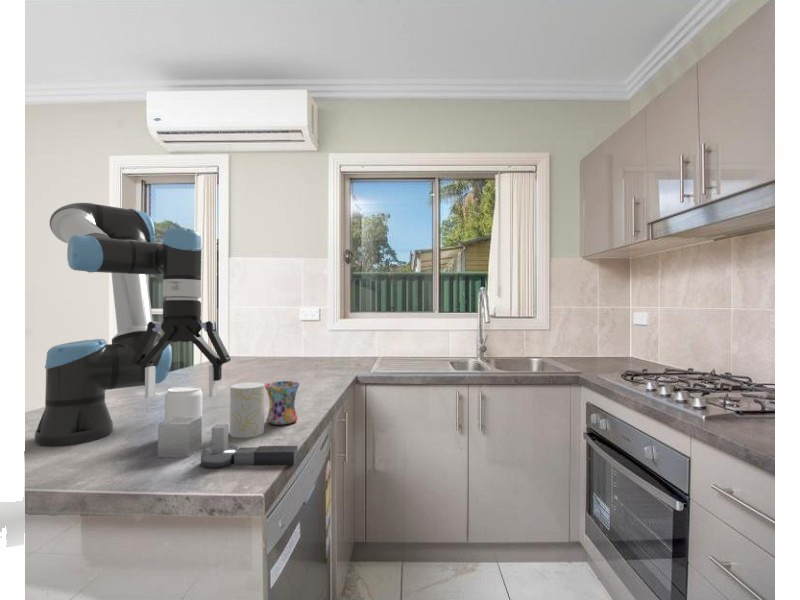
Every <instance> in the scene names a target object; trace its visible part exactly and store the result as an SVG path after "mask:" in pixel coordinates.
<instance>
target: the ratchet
mask: <svg viewBox="0 0 800 600" xmlns="http://www.w3.org/2000/svg"><path fill="white" fill-rule="evenodd" d="M298 453H299V446H298V445H259V446H258V447H252V446H251V447H250V446H249V447H247V446H246V447H239V448H238V446H236V445H233V444H229V424H227V423H226V424H225V423H224V424H221V423H220V424H215V425H213V426H212V427H211V446H210V447H208V448H207V447H206V448H205V449H203V450H202V451H200V467H201V468H203V469H206V470H221V469H225V468H229V467H232V466H235V467H236V466H239V467H241V466H244V467H245V466H246V467H247V466H254V467H257V466H260V467H261V466H262V467H263V466H266V467H267V466H269V467H270V466H273V467H274V466H295V464H296V463H297V461H298V459H299V458H298V457H299V455H298Z"/></svg>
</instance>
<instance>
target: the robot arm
mask: <svg viewBox="0 0 800 600" xmlns="http://www.w3.org/2000/svg"><path fill="white" fill-rule="evenodd" d="M49 228H50V231H51V232H52V234H53V235H54V236H55V238H57V239H58V240H60V241H61V242H62V243H64V244H67V252H66V259H67V264H68V267H69V268H70V269H71V270H73V271H79V272H85V273H86V272H87V273H89V274H90V273H106V274H107V273H108V274H111V282H112V291H113V293H112V294H113V301H114V302H113V303H114V310H115V320H116V330H117V334H115V335H114V336H113V337H112V338H111V344H110V343H109V344H108V343H107V340H106V339H104V338H97V339H85V340H77V341H70V342H66V343H62V344H57V345H55V346H52V347H50V348H49V349H48V350H47V353H46V359H45V365H44V369H45V400H44V402H45V403H44V404H45V405H44V410H43V413H42V415H41V418H40V421H39V423H38V425H37V428H36V430H35V432H34V444H36V443H37V444H36V445H38V444H39V445H38V446H43V445H45V446H46V447H57V446H59V447H60V446H68V445H76V444H81V443H86V442H91V441H95V440H99V439H102V438H104V437H107V436H109V435H110V434H112V433H113V431H114V422H113V420H112V418H111V414H110V412H109V409H108V406H107V404H106V391H108V390H115V389H127V388H132V387H133V388H134V387H142V386H144V398H145V399H149V398H152V397H155V396H156V384H161V383H163V382H164V381H165V380H166V378H167V377H168V376H169V373H170V370H171V366H172V361H173V360H172V359H173V350H172V345H171V343H178V342H179V343H180V342H183V343H184V342H185V343H189V342H191V343H192V344H194V345H195V346H196V347H197V348H198V350H200V352H201V353H202V354H203V356H205V358H206V359H207V360H208V361H209V362H210V364H211V366H208V397H209V398H212V397H215V396H216V395H218V382H219V381H221V380H222V371H223V370H222V369H223V365H224V364H227V363H229V362H230V361H231V357H230V355H229V352H228V350H227V349H226V347H225V345H224V343H223V341H222V338H221V336H220V335H219V333H218V329H217V323H216V321H215V320H209V321H206V322H203V321H202V319H201V317H202V302H201V301H200V300H199V299H201V298H202V250H203V246H202V236H201V233H200V232H199V231H197V230H194V229H188V228H179V227H178V228H177V227H175V228H166V229H165V230H164V232H163V238H162V241H161V242H162V243H160V242H159V243H158V242H155V241H156V236H155V235H156V230H155V225H154V222H153V219H152V217H151V216H150V215H149V214H148V213H146V212H145V211H142V210H136V209H135V208H122V207H117V206H108V205H104V204H96V203H91V202H74V203H69V204H66V205H63V206H61V207H59V208H57V209H56V210H55V211H53V213H52V214H51V215H50V218H49ZM148 276H154V277H157V278H158V277H160V278H161V277H162V281H163V282H162V297H163V298H164V299H165V300H163V301H162V318H163V320H162V322H159V321H153V313H152V312H153V311H152V305H151V296H150V288H149V282H148ZM202 329H203V330H204V332H206V335H207V336H208V338H209V340H210V343H211V344H212V346H213V348H214V350H213V349H212V347H211V346H210V345H209V344H208V342H206V340H205V339H204V337H203V335H202V334H201V330H202ZM161 330H162V331H163V332H164V334H163V335H162V333H161V332H160V331H161Z"/></svg>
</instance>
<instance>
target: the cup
mask: <svg viewBox="0 0 800 600" xmlns="http://www.w3.org/2000/svg"><path fill="white" fill-rule="evenodd" d="M229 390H230V391H229V392H230V395H229V396H230V399H229V404H230V409H229V413H230V414H229V436H230V437H232V438H238V439H245V438H254V437H258V436H261V435H262V434H264V433H265V384H264V383H263V382H241V383H235V384H232V385H230V388H229Z"/></svg>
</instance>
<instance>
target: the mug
mask: <svg viewBox="0 0 800 600" xmlns="http://www.w3.org/2000/svg"><path fill="white" fill-rule="evenodd" d="M300 384H301V383H300V382H298V381H295V380H294V381H291V380H288V381H287V380H279V381H278V380H277V381H271V382H268V383H267V382H266V383H265V384H264V388H265V389H266V392H267V396H268V400H269V411H268V415H267V417H266V419H265V421H266V422H267V423H268V424H271V425H274V426H275V425H276V426H280V425H288V424H292V423H294V422H296V421H298V419H299V417H298V414H297V412H296V407H295V405H296V403H295V402H296V396H297V392H298V389H299V386H300Z"/></svg>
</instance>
